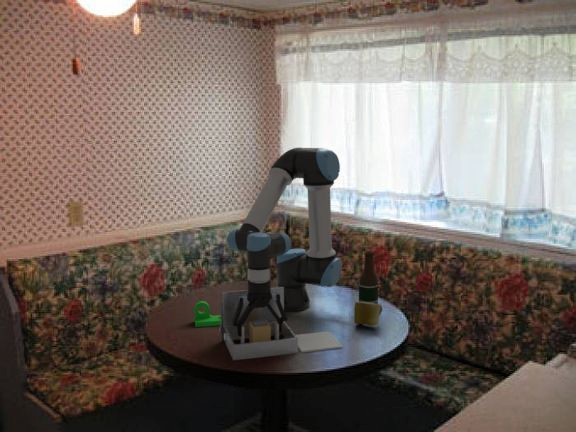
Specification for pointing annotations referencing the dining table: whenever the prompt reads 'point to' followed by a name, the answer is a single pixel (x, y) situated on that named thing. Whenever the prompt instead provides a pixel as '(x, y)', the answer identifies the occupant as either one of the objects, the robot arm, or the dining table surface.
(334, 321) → the dining table surface
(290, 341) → the case
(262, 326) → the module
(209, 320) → the mechanical part
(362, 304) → the mug
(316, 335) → the pad
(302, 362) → the dining table surface
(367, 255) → the beer bottle
